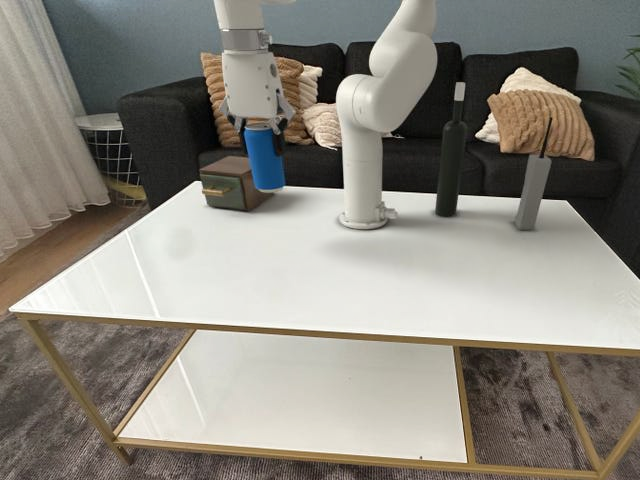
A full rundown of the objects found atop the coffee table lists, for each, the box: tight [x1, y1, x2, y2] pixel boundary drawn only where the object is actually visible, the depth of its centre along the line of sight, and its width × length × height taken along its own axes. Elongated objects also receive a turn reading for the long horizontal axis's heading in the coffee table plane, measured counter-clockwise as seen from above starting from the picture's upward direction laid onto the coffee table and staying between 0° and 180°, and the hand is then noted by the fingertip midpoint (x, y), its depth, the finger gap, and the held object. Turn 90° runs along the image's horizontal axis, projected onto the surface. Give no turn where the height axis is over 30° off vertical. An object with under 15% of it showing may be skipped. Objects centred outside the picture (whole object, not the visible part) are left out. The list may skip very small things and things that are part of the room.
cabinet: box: [198, 155, 275, 212], centre depth 114 cm, size 15×13×10 cm
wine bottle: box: [434, 81, 468, 218], centre depth 102 cm, size 6×6×30 cm
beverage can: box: [244, 122, 286, 193], centre depth 83 cm, size 6×6×12 cm
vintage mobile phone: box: [513, 116, 554, 231], centre depth 98 cm, size 4×5×25 cm
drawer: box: [199, 173, 246, 209], centre depth 111 cm, size 18×11×8 cm, turn 165°
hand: (264, 152), depth 83 cm, fingers closed on beverage can, 6 cm apart
